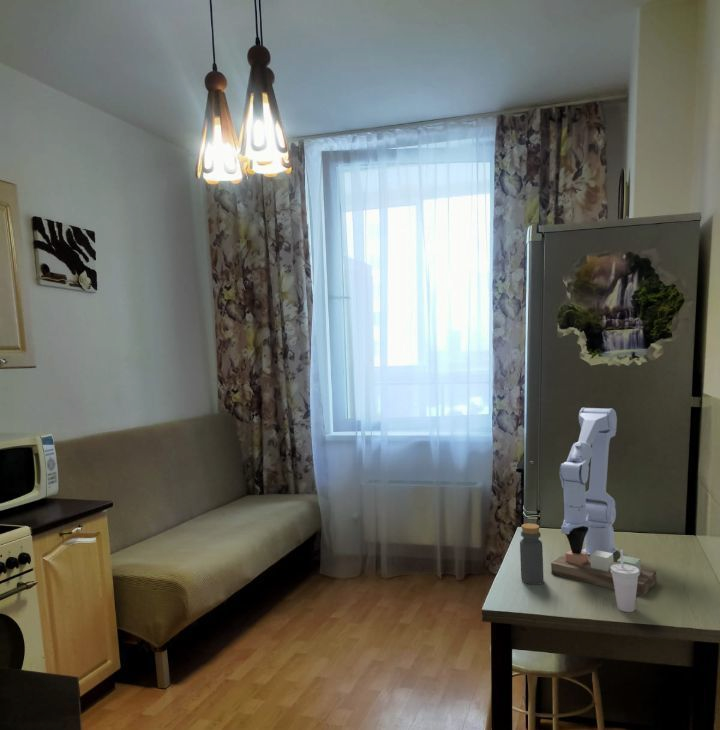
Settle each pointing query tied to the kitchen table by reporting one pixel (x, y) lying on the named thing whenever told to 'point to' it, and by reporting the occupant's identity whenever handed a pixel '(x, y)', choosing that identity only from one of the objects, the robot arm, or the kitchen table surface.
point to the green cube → (631, 562)
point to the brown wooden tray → (600, 574)
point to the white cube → (602, 560)
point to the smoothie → (625, 585)
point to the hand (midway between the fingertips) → (576, 552)
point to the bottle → (531, 554)
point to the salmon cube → (577, 558)
